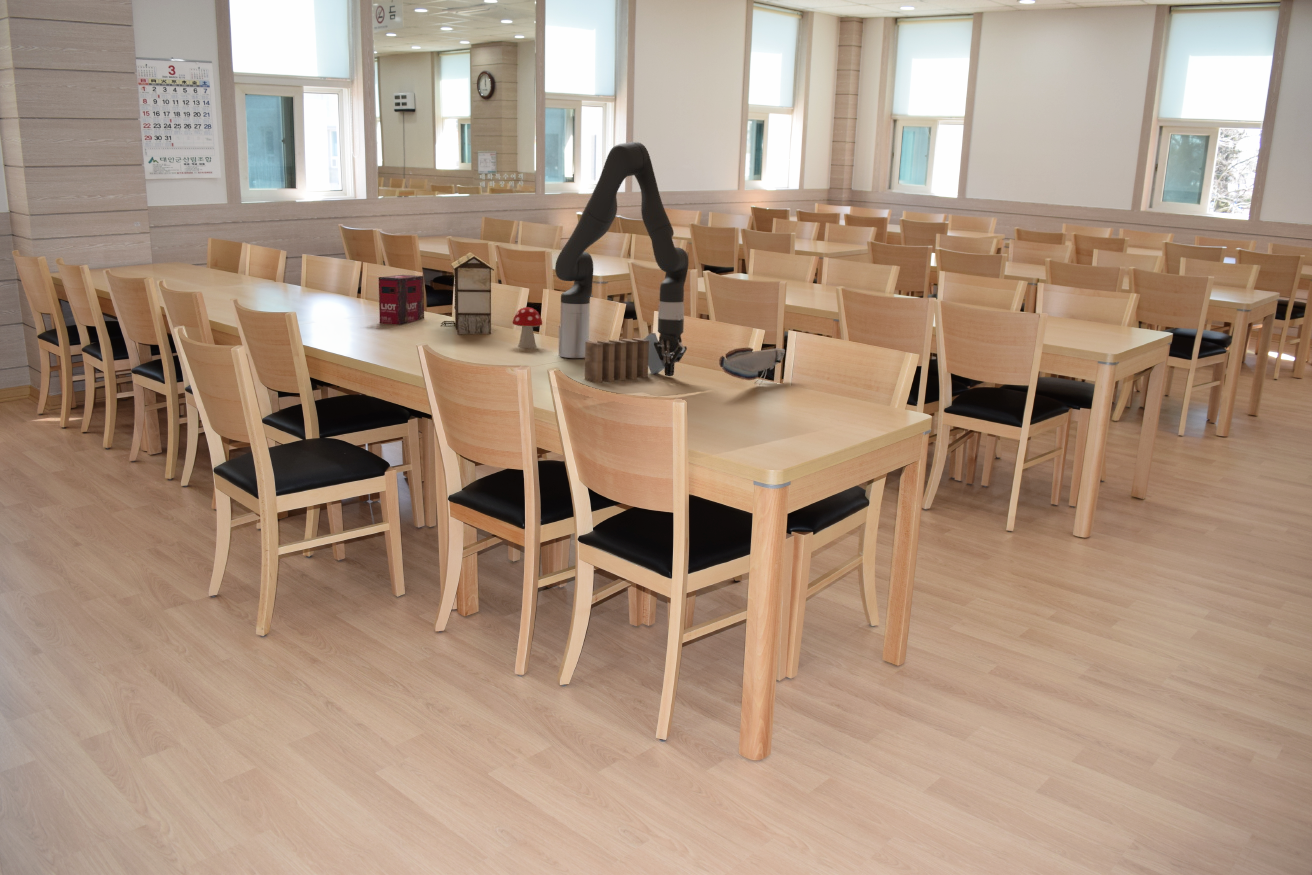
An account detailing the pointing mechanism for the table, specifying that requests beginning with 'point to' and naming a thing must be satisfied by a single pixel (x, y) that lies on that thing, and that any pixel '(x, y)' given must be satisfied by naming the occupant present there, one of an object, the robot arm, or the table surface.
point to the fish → (750, 362)
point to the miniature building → (472, 295)
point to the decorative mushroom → (527, 326)
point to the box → (401, 299)
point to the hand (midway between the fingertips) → (669, 375)
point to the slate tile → (654, 355)
